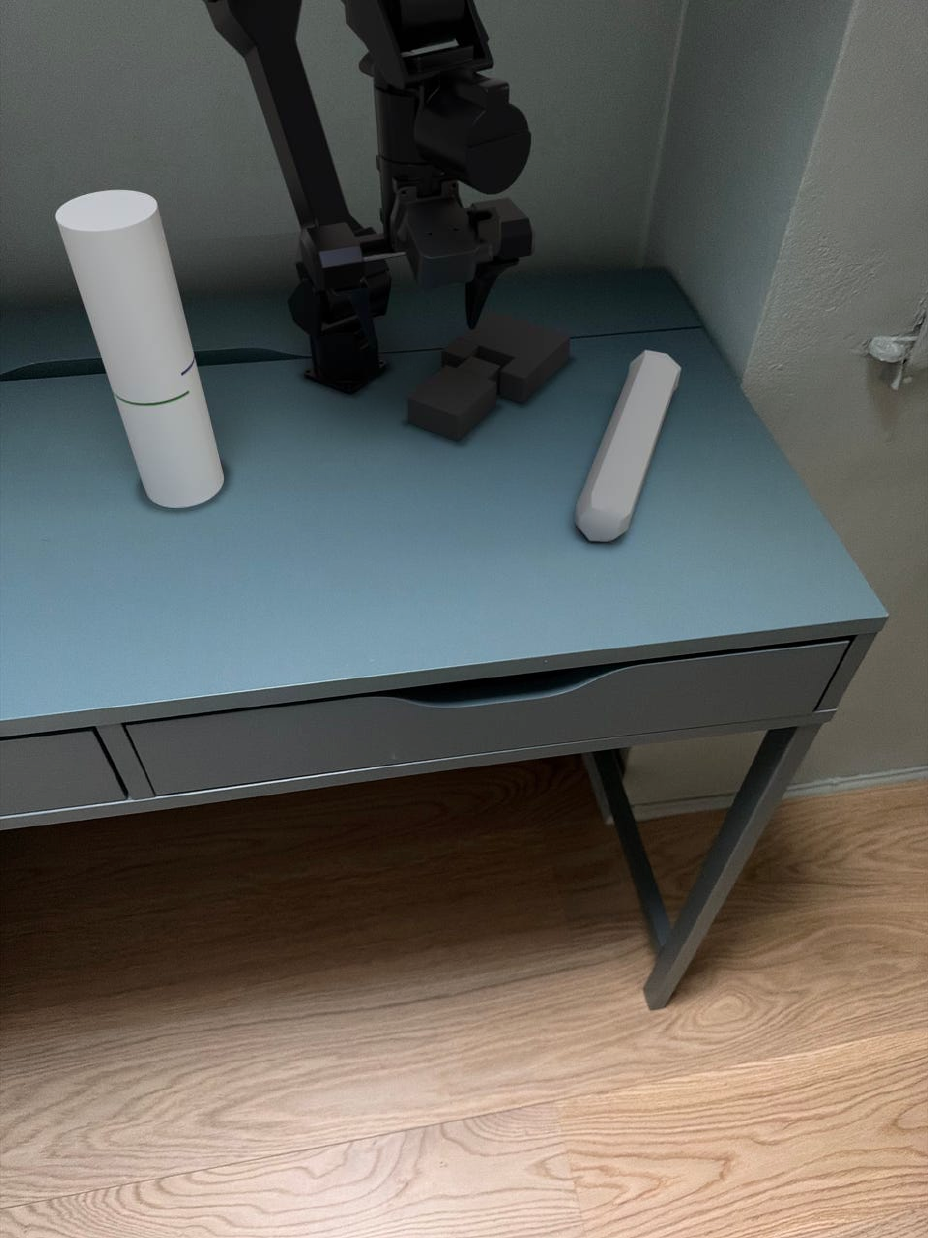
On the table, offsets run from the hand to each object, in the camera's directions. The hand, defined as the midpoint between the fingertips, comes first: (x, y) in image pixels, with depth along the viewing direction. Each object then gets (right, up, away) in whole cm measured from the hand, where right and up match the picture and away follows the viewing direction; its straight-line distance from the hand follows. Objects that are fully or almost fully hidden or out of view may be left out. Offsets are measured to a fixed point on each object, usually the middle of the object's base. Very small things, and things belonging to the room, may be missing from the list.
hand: (422, 336), depth 80 cm
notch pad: (+8, +2, +17) cm, 19 cm away
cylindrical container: (-22, -13, +4) cm, 26 cm away
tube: (+16, -8, +4) cm, 19 cm away
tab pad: (+3, -4, +12) cm, 13 cm away
